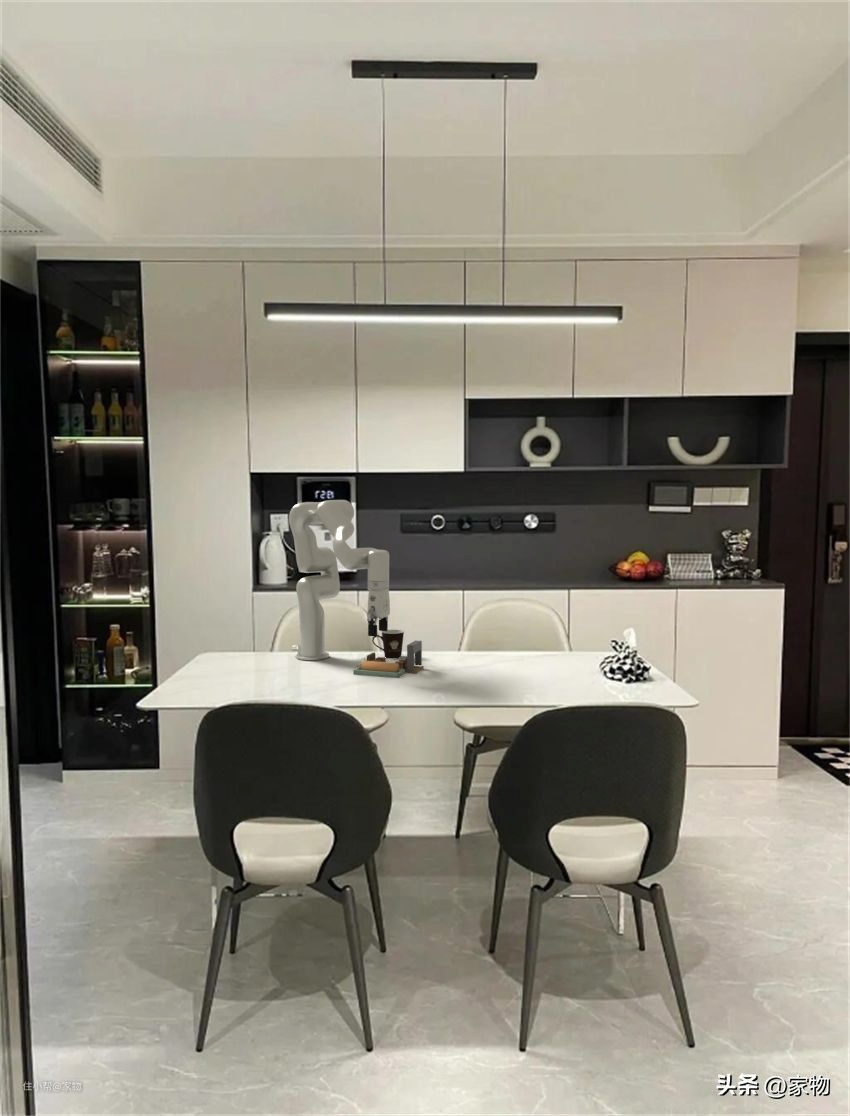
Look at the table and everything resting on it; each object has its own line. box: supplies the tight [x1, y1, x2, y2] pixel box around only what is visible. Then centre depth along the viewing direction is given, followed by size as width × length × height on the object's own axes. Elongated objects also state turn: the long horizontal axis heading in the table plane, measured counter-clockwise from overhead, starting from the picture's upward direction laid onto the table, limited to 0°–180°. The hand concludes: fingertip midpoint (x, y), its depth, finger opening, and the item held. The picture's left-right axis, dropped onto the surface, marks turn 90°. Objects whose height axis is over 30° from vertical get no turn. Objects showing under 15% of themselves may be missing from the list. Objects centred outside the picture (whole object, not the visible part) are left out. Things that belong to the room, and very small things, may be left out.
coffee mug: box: [371, 629, 405, 659], centre depth 304 cm, size 12×9×10 cm
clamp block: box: [356, 652, 425, 675], centre depth 283 cm, size 23×7×5 cm, turn 71°
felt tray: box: [352, 666, 406, 679], centre depth 276 cm, size 17×7×2 cm, turn 71°
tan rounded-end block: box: [360, 660, 399, 673], centre depth 277 cm, size 13×4×4 cm, turn 71°
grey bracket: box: [406, 640, 423, 670], centre depth 280 cm, size 2×9×9 cm, turn 161°
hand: (377, 633), depth 275 cm, fingers open, 9 cm apart
